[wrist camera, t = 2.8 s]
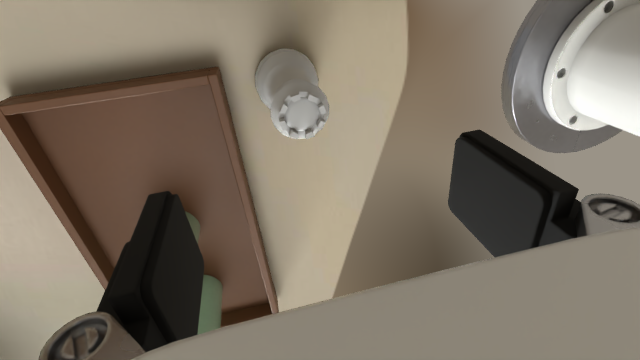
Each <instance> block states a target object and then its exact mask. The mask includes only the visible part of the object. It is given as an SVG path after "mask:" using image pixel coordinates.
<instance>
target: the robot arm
mask: <svg viewBox="0 0 640 360" xmlns="http://www.w3.org/2000/svg"><path fill="white" fill-rule="evenodd" d="M543 100H544V103H545V107H546V110H547V111H548V113H549V115H550V116H551V118H553V119H554V120H555V121H556V122H557V123H559V124H561V125H563V126H565V127H567V128H570V129H574V130H592V129H597V128H600V127H603V126H606V125H608V124H609V125H611V126H614V127H616V128H619V129H622V130H624V131H627V132H630V133H632V134H634V135H637V136H640V0H594V1H593V2H591V3H590V4H589V5H587V6H586V7H585V8H584V9H583V10H582V11H581V12H580V13H579V14H578V15H577V16H576V17H575V19H574V20H573V21H572V22H571V24H570V25H569V26H568V28H567V29H566V30H565V31H564V33H563V34H562V36H561V38H560V39H559V41H558V43H557V44H556V46H555V48H554V50H553V53H552V55H551V57H550V59H549V62H548V65H547V68H546V72H545V75H544V83H543ZM578 190H579V189H578V188H576V187H574V186H573V185H571V184H569V183H568V182H566V181H564V180H562V179H561V178H559V177H558V176H556V175H554V174H553V173H551V172H549V171H548V170H546V169H544V168H543V167H541V166H539V165H538V164H536V163H535V162H533V161H531V160H530V159H528V158H526V157H525V156H523V155H521V154H519V153H518V152H516V151H515V150H513V149H511V148H510V147H508V146H506V145H505V144H503V143H501V142H500V141H498V140H496V139H495V138H493V137H491V136H490V135H488V134H486V133H485V132H483V131H481V130H475V131H470V132H465V133H462V134H461V135H460V137H459V138H458V139H457V140H456V143H455V151H454V159H453V166H452V174H451V183H450V191H449V199H448V205H449V208H450V210H451V211H452V213H454V215H455V216H456V217H457V218H458V219H459V220H460V221H461V222H462V223H463V224H464V225H465V226H466V227H467V229H468V230H469V231H470V232H471V233H472V234H473V235H474V236H475V237H476V238H477V239H478V240H479V241H480V242H481V243H482V244H483V245H484V247H485V248H486V249H487V250H488V251H489V252H490V253H491V254H492V255H493V256H494V257H495V258H491V259H487V260H483V261H479V262H475V263H471V264H467V265H463V266H459V267H455V268H451V269H447V270H443V271H439V272H435V273H431V274H427V275H423V276H419V277H415V278H411V279H407V280H403V281H399V282H395V283H392V284H388V285H383V286H379V287H376V288H372V289H368V290H364V291H360V292H356V293H352V294H348V295H344V296H341V297H337V298H333V299H329V300H325V301H321V302H317V303H313V304H310V305H306V306H302V307H298V308H294V309H290V310H286V311H283V312H279V313H275V314H271V315H267V316H263V317H260V318H256V319H252V320H248V321H244V322H241V323H237V324H233V325H229V326H226V327H222V328H219V329H215V330H212V331H209V332H205V333H202V334H199V335H197V334H198V324H199V315H200V305H201V295H202V286H203V276H204V260H203V256H202V254H201V251H200V249H199V246H198V243H197V241H196V238H195V236H194V233H193V231H192V228H191V226H190V223H189V221H188V218H187V216H186V213H185V210H184V208H183V205H182V203H181V200H180V198H179V196H178V194H173V195H172V194H171V192H170V191H164V192H159V193H154V194H150V195H148V197H147V200H146V202H145V205H144V207H143V210H142V212H141V215H140V217H139V220H138V222H137V225H136V227H135V230H134V232H133V235H132V237H131V240H130V241H129V242H127V243H126V244H125V245H124V247H123V249H122V252H121V254H120V256H119V259H118V261H117V264H116V266H115V268H114V271H113V273H112V276H111V278H110V280H109V283H108V285H107V288H106V290H105V292H104V295H103V297H102V300H101V302H100V304H99V307H98V309H97V312H92V313H87V314H85V315H82V316H80V317H77V318H75V319H74V320H72V321H70V322H68V323H67V324H65V325H64V326H63V327H61V328H60V329H59V330H58V331H56V332H55V333H54V334H53V335H52V337H51V338H50V339H49V340H48V341H47V342H46V344H45V345H44V347H43V349H42V350H41V352H40V356H39V360H640V205H639V204H637V203H635V202H633V201H631V200H629V199H626V198H623V197H619V196H615V195H610V194H591V195H588V196H586V197H584V198H583V199H582V201H581V202H579V201H578V200H576V199H575V198H576V196H577V193H578Z"/></svg>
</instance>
